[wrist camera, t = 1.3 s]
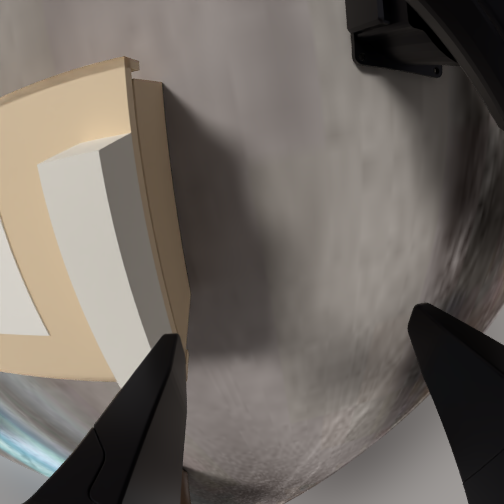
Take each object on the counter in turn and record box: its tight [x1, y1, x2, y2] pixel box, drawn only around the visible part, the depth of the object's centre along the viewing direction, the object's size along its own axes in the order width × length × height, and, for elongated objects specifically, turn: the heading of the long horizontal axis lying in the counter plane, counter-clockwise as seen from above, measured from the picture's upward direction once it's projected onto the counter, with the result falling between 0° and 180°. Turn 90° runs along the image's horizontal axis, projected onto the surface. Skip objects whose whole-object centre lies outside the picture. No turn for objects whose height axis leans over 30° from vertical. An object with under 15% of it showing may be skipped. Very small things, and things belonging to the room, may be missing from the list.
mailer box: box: [132, 79, 191, 355], centre depth 15 cm, size 16×14×6 cm
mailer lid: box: [0, 56, 189, 388], centre depth 11 cm, size 16×16×5 cm
